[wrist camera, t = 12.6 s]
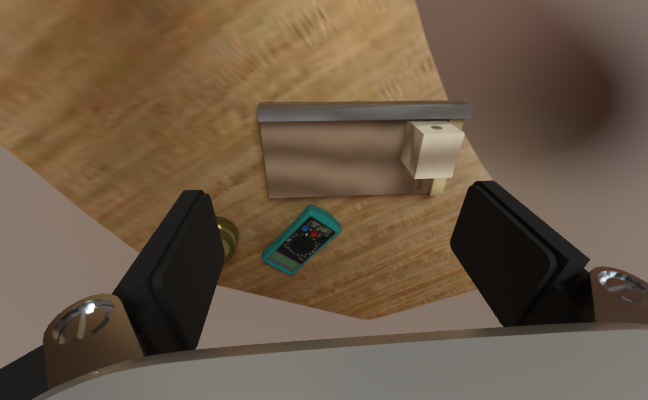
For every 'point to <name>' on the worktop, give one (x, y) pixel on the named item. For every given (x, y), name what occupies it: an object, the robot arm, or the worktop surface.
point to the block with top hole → (430, 149)
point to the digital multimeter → (301, 240)
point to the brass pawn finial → (228, 237)
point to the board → (345, 146)
